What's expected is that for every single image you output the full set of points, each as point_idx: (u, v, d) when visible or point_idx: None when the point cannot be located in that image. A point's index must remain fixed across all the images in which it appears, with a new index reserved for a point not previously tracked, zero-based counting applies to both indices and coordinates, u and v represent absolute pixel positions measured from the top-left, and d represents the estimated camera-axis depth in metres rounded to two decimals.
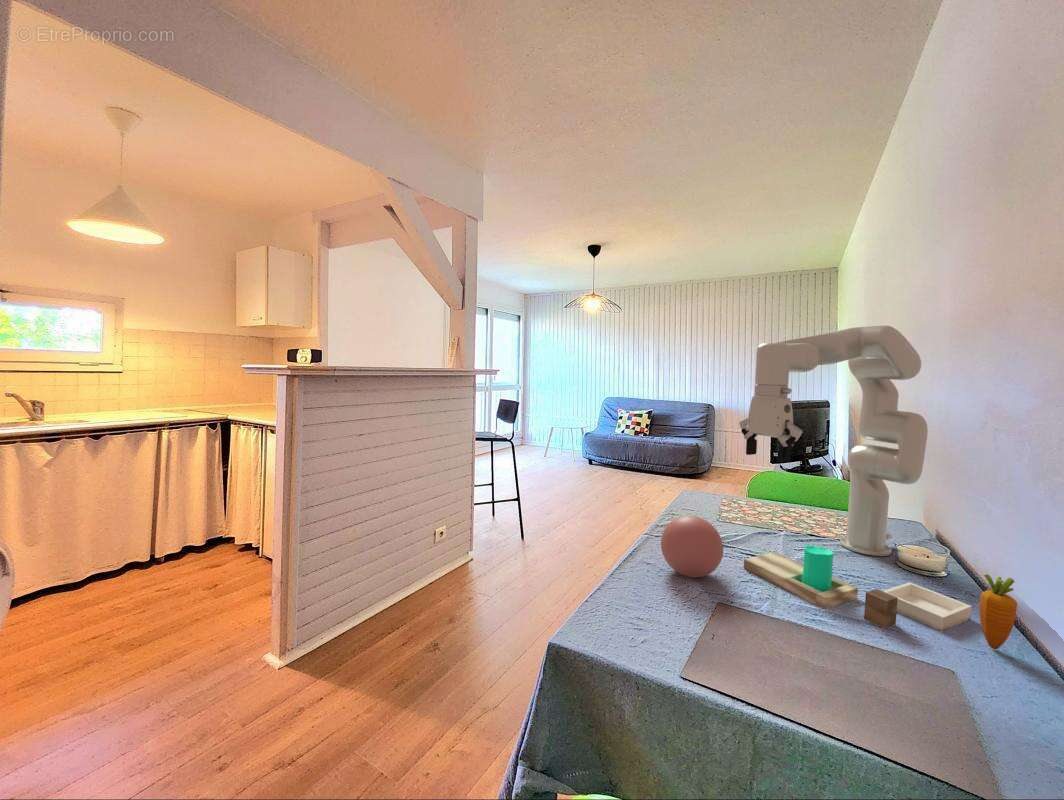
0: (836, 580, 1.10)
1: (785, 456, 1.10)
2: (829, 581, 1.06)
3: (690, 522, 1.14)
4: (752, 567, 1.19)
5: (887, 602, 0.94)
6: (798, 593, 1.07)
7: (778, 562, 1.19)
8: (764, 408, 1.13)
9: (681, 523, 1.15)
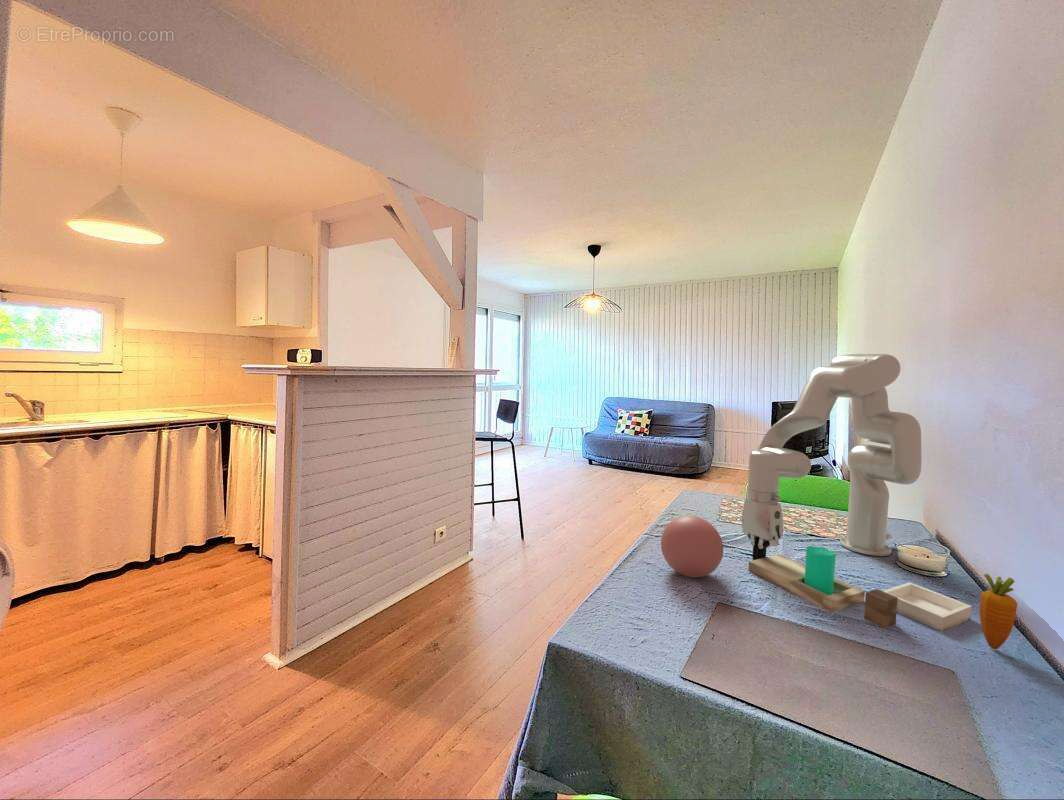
0: (842, 583, 1.08)
1: (761, 557, 1.22)
2: (831, 582, 1.06)
3: (690, 522, 1.14)
4: (757, 570, 1.18)
5: (887, 602, 0.94)
6: (804, 596, 1.06)
7: (783, 565, 1.18)
8: (756, 512, 1.22)
9: (681, 523, 1.15)
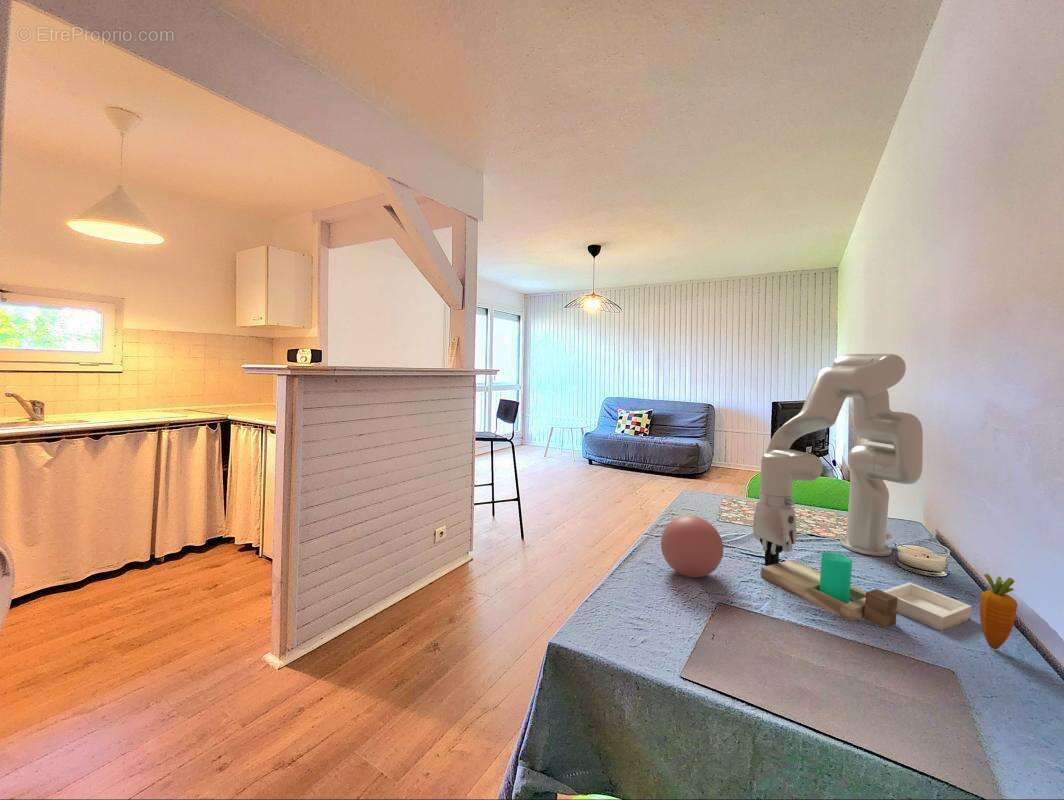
0: (859, 590, 1.05)
1: (773, 562, 1.19)
2: (847, 590, 1.02)
3: (690, 522, 1.14)
4: (770, 576, 1.14)
5: (887, 602, 0.94)
6: (820, 604, 1.02)
7: (797, 571, 1.15)
8: (769, 516, 1.18)
9: (681, 523, 1.15)
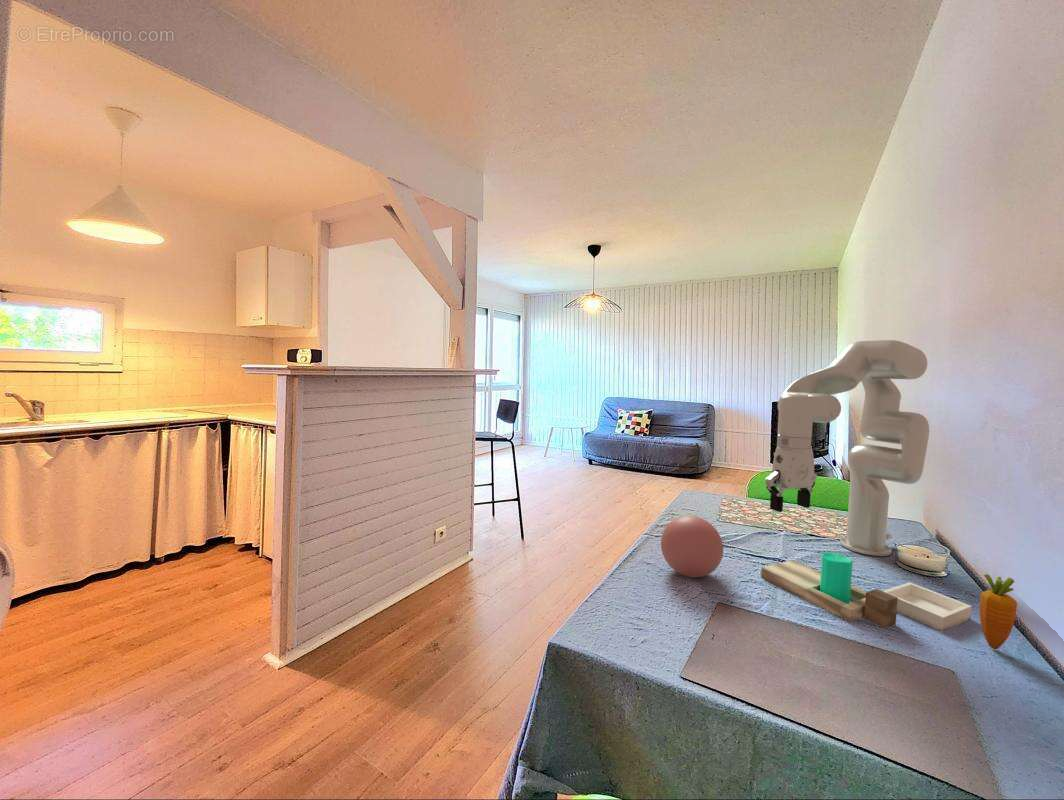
0: (860, 591, 1.05)
1: None
2: (848, 590, 1.02)
3: (690, 522, 1.14)
4: (770, 576, 1.14)
5: (887, 602, 0.94)
6: (820, 605, 1.02)
7: (797, 571, 1.14)
8: None
9: (681, 523, 1.15)
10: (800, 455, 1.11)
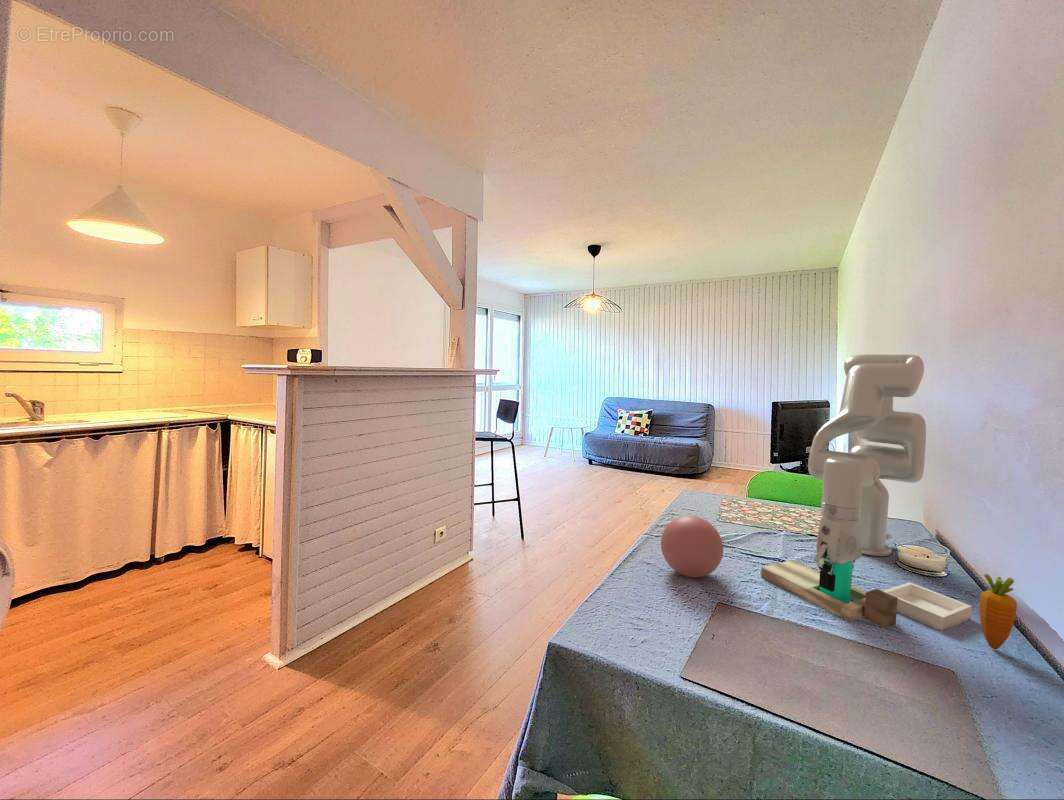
0: (860, 591, 1.05)
1: None
2: (847, 590, 1.02)
3: (690, 522, 1.14)
4: (770, 576, 1.14)
5: (887, 602, 0.94)
6: (820, 605, 1.02)
7: (797, 571, 1.14)
8: None
9: (681, 523, 1.15)
10: (849, 527, 1.01)
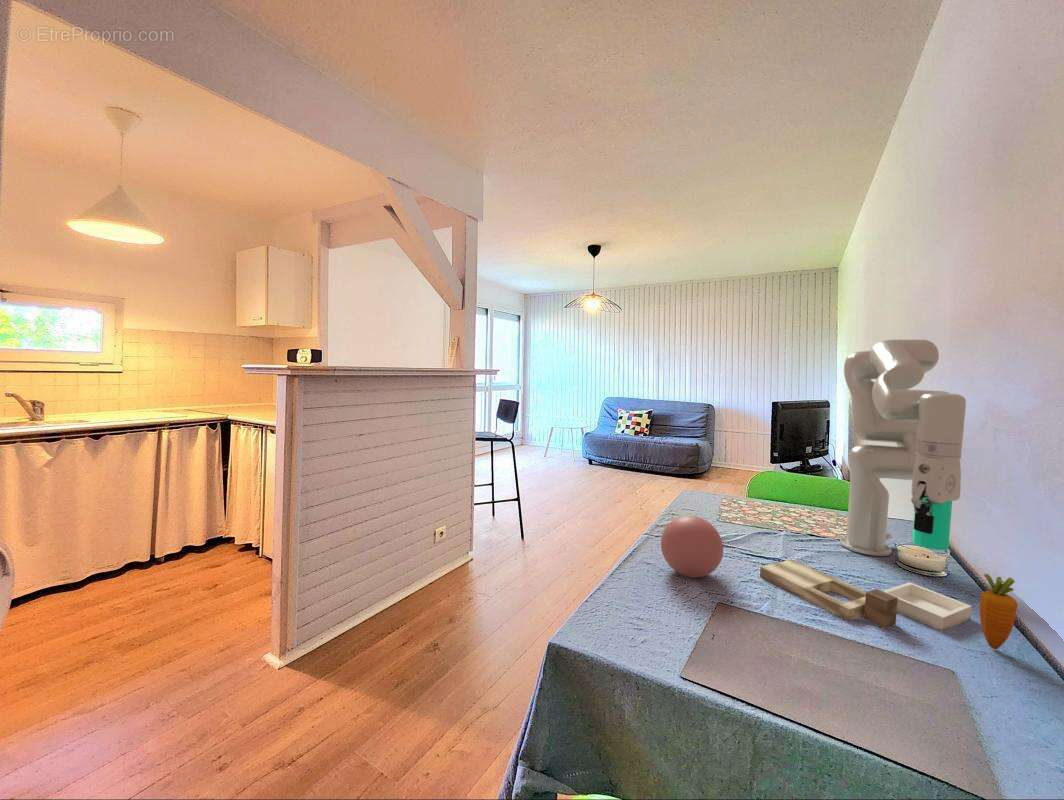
0: (858, 590, 1.05)
1: None
2: (947, 532, 0.96)
3: (690, 522, 1.14)
4: (769, 576, 1.14)
5: (887, 602, 0.94)
6: (819, 604, 1.03)
7: (796, 570, 1.15)
8: None
9: (681, 523, 1.15)
10: (949, 465, 0.95)
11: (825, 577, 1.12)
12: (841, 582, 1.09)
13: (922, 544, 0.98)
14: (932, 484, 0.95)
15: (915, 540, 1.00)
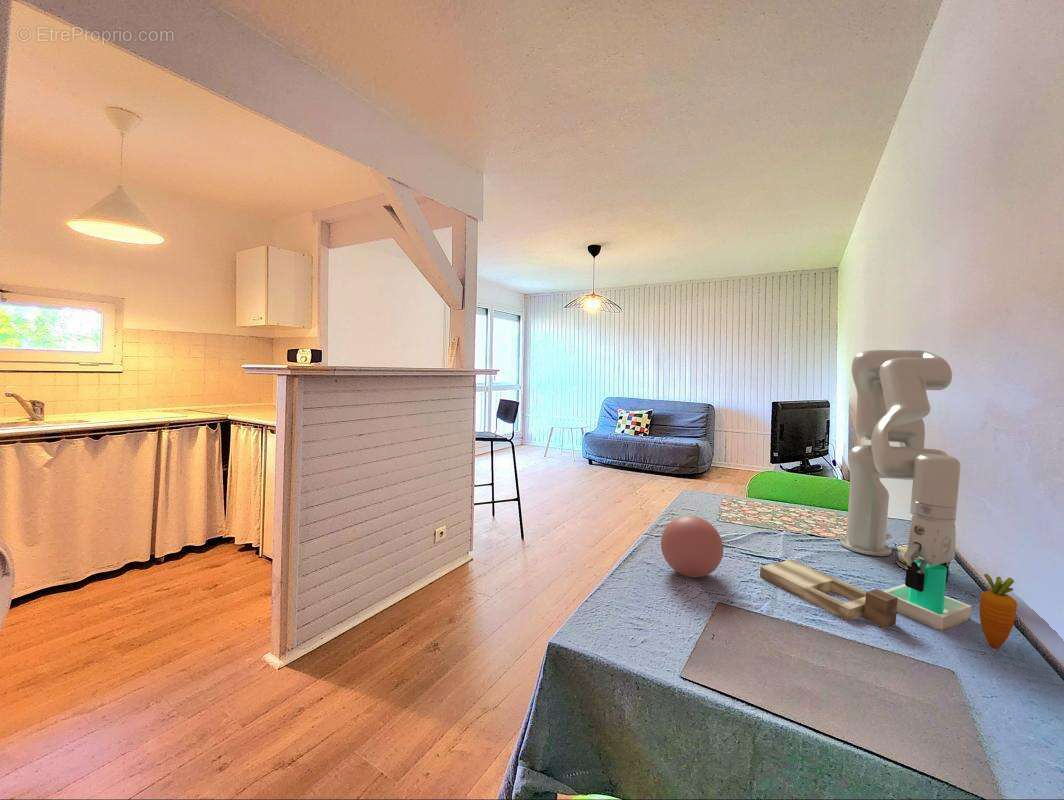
0: (858, 590, 1.05)
1: None
2: (942, 598, 0.98)
3: (690, 522, 1.14)
4: (769, 576, 1.14)
5: (887, 602, 0.94)
6: (819, 604, 1.03)
7: (796, 570, 1.15)
8: None
9: (681, 523, 1.15)
10: (944, 527, 0.96)
11: (825, 577, 1.12)
12: (841, 582, 1.09)
13: None
14: (927, 546, 0.96)
15: None
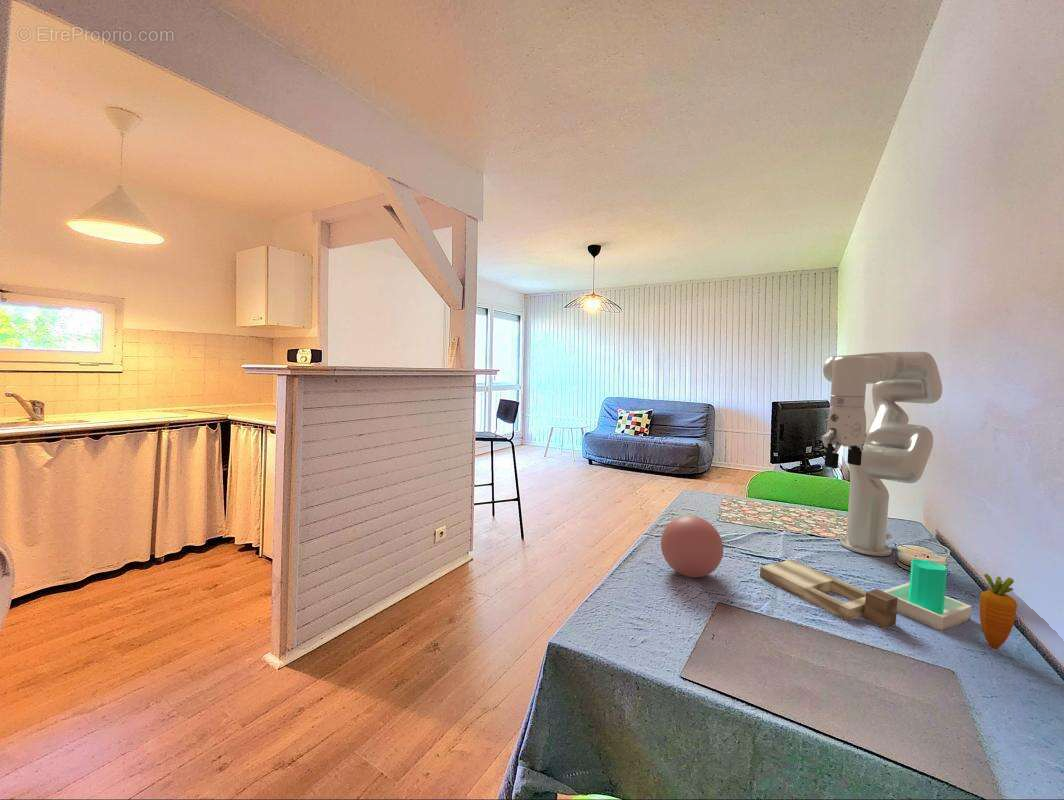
0: (858, 590, 1.05)
1: None
2: (942, 599, 0.98)
3: (690, 522, 1.14)
4: (769, 576, 1.14)
5: (887, 602, 0.94)
6: (819, 604, 1.03)
7: (796, 570, 1.15)
8: None
9: (681, 523, 1.15)
10: (855, 414, 1.16)
11: (825, 577, 1.12)
12: (841, 582, 1.09)
13: None
14: (840, 430, 1.16)
15: None
